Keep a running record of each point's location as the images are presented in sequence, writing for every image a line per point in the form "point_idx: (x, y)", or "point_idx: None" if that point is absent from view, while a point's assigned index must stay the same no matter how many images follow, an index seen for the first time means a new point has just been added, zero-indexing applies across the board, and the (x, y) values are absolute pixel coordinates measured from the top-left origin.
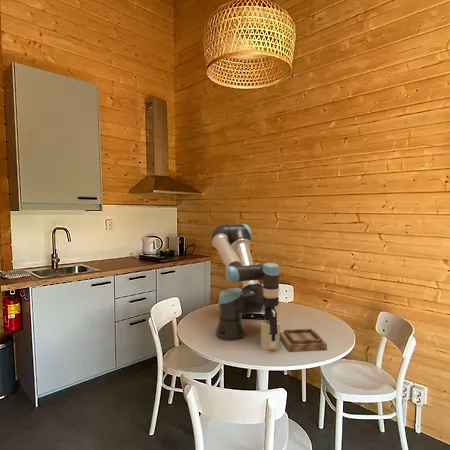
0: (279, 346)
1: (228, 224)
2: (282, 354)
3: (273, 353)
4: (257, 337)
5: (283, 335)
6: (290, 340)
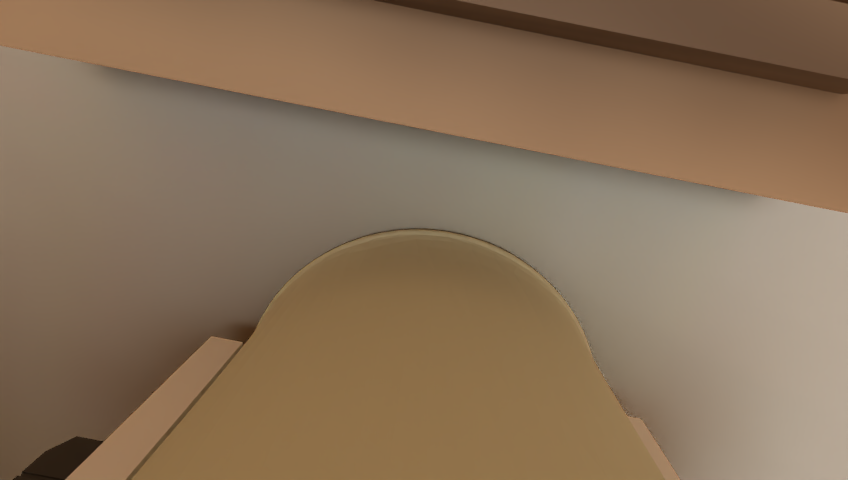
0: (544, 287)
1: None
2: (801, 348)
3: (701, 465)
4: (3, 445)
5: (234, 48)
6: (665, 53)
